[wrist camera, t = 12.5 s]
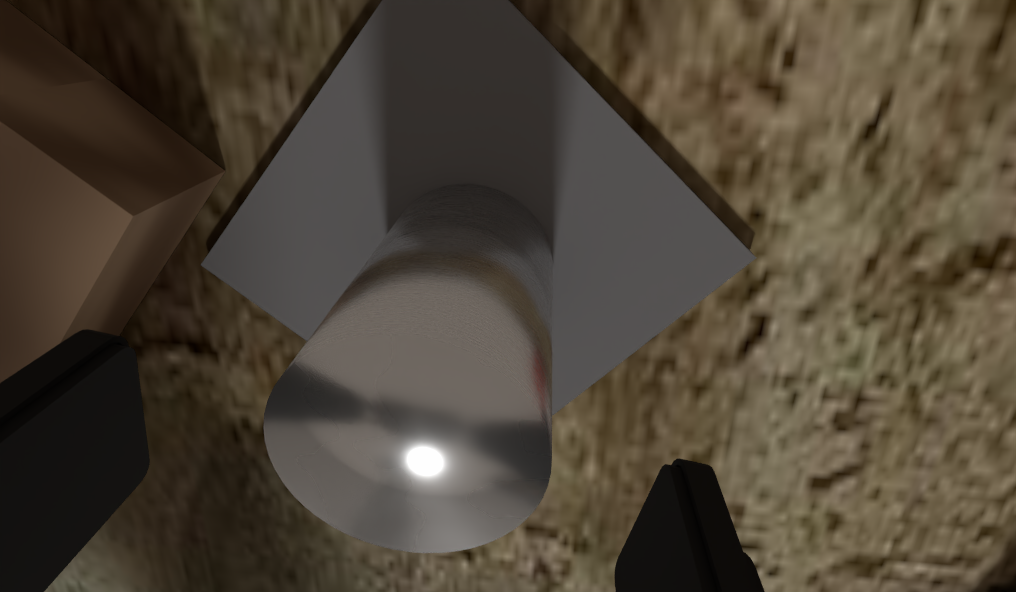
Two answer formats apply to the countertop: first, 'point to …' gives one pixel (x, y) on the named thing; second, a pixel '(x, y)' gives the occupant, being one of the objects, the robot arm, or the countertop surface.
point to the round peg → (428, 382)
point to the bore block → (81, 195)
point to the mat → (478, 183)
